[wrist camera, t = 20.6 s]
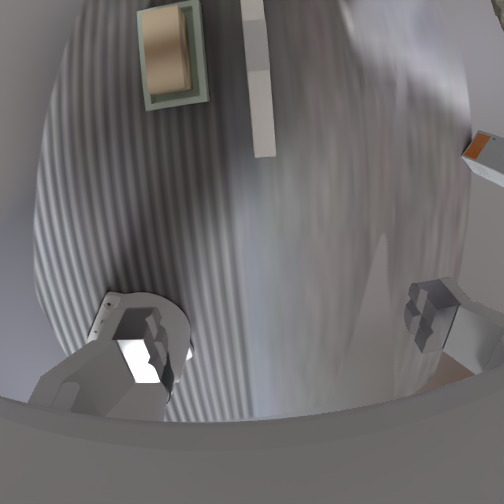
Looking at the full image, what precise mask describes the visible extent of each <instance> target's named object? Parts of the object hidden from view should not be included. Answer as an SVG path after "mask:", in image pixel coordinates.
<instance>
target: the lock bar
mask: <svg viewBox="0 0 504 504" xmlns="http://www.w3.org/2000/svg"><path fill="white" fill-rule="evenodd" d="M142 27H143V41H144V54H145V65H146V76H147V85H148V94H155V95H164V94H169V93H175V92H181V91H188V90H193V82H192V72H191V61H190V50H189V39H188V27H187V17H186V16H185V15H184V13H183V12H182V10H181V9H180V8H179V6H178V5H175V6H169V7H164V8H160V9H155V10H151V11H147V12H143V13H142Z"/></svg>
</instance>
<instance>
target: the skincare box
mask: <svg viewBox="0 0 504 504" xmlns="http://www.w3.org/2000/svg"><path fill="white" fill-rule="evenodd" d="M462 158H463V159H464V160H465V162H466V163H467V164H468V165H469V167H470V168H471V170H472V171H473V172H474V173H476V174H478V175H480V176H483V177H484V178H486V179H488V180H491V181H492V182H494V183H496V184H498V185H500V186H502V187H504V138H502V137H498V136H495V135H492V134H489V133H486V132H482V131H478V132H477V134H476V136H475V137H474V139H473V140H472V142H471V143H470V145H469V146H468V147H467V149H466V150H465V152H464V153H463V154H462Z"/></svg>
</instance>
